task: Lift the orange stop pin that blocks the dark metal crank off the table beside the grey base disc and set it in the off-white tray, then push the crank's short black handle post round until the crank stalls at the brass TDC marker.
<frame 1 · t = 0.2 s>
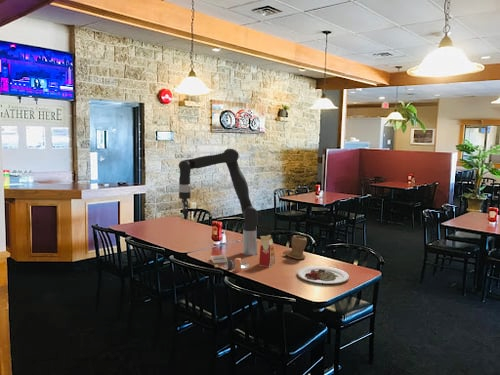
hand: (184, 215, 268), 29 cm above the table, fingers open, 8 cm apart
plated food: (322, 277, 241), on the table
crank: (233, 262, 253), point 3 cm above the table, hinge at 50.0°
stop pin: (237, 271, 246), on the table
tan boot: (295, 257, 279), on the table
milk carton: (266, 265, 260), on the table
base disc: (236, 266, 257), on the table
tray: (218, 261, 266), on the table
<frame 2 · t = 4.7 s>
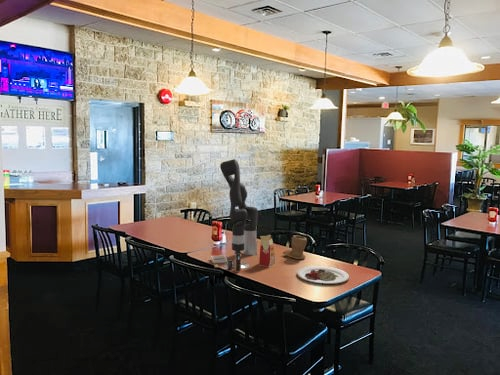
hand: (237, 269, 246), 1 cm above the table, fingers closed on stop pin, 4 cm apart
stop pin: (237, 271, 246), on the table, touching gripper
everything else where it was.
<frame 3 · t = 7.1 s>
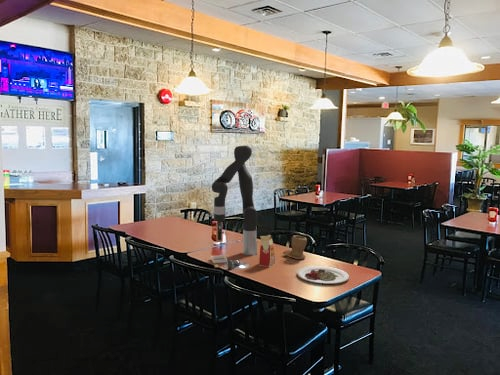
hand: (219, 238, 264), 15 cm above the table, fingers closed on stop pin, 4 cm apart
stop pin: (219, 241, 265), point 14 cm above the table, touching gripper
everything else where it was.
when the fingers open (3 cm above the table, at t = 9.7 s): stop pin drops 1 cm, resting on tray.
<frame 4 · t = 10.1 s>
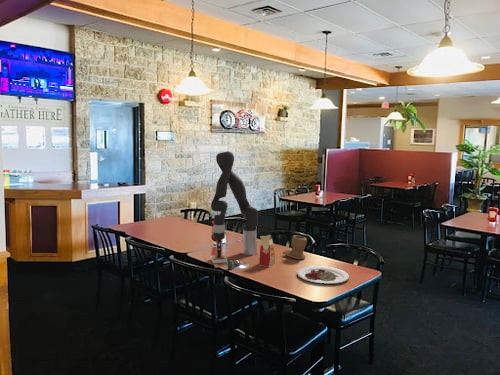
hand: (218, 255, 266), 4 cm above the table, fingers open, 7 cm apart
stop pin: (218, 260, 266), point 1 cm above the table, touching tray
everything else where it was.
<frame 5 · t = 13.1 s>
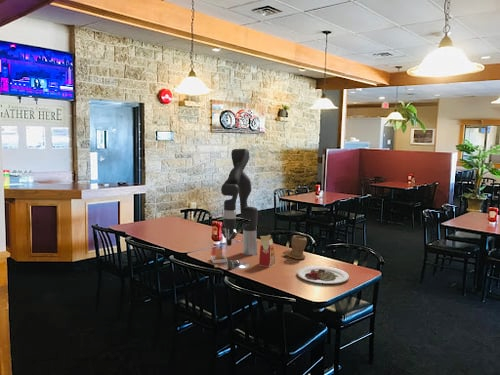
hand: (229, 245, 247), 16 cm above the table, fingers closed
nothing on the table moved.
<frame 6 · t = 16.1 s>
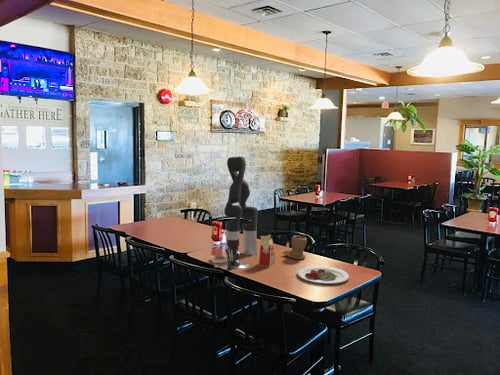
hand: (232, 266, 246), 3 cm above the table, fingers closed
crank: (233, 262, 253), point 3 cm above the table, hinge at 48.1°, touching gripper
everything else where it was.
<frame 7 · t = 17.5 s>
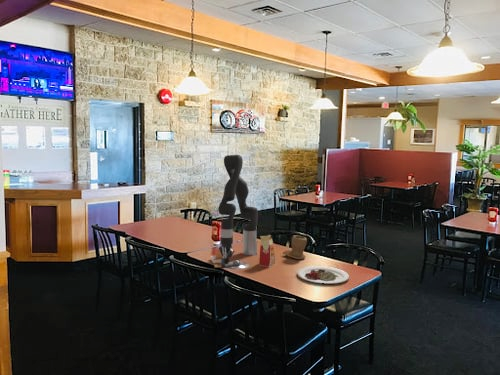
hand: (226, 263, 250), 4 cm above the table, fingers closed
crank: (230, 261, 255), point 3 cm above the table, hinge at 12.0°
everything else where it was.
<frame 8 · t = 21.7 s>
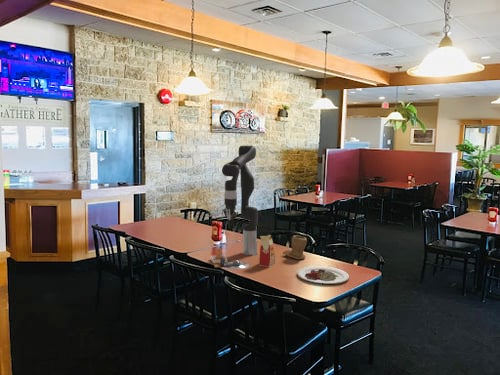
hand: (230, 225, 250), 27 cm above the table, fingers closed
crank: (230, 261, 256), point 3 cm above the table, hinge at -0.3°
everything else where it was.
at the end: stop pin inside the target area on the tray (0.1 cm from its centre), point 0.5 cm above the tray's base; crank at +0° (first picture: +50°) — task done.
